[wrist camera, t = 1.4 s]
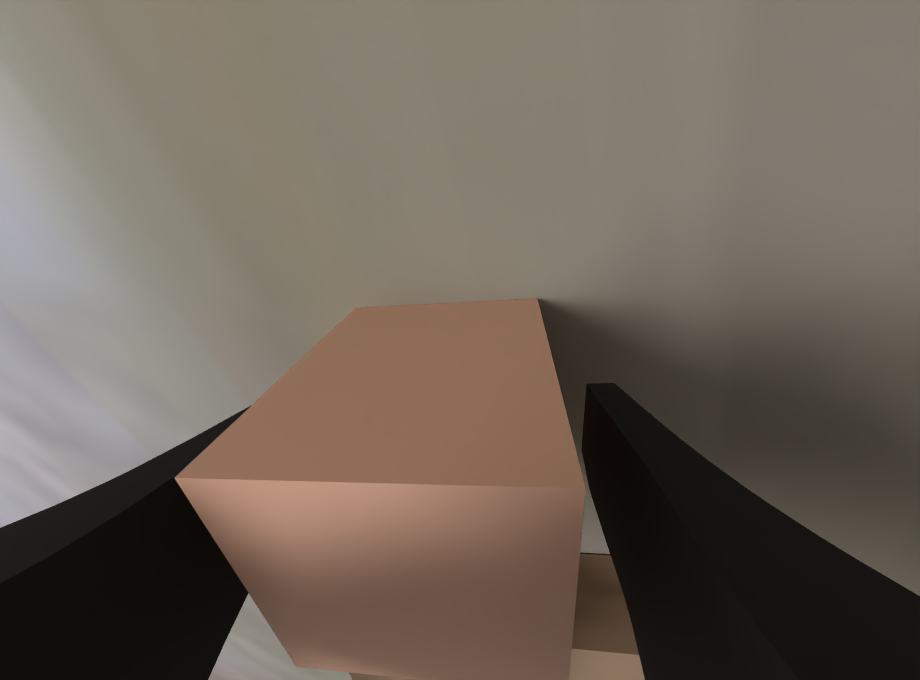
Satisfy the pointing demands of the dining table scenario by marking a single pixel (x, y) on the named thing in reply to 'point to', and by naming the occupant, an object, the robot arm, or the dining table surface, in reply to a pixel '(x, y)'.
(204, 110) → the dining table surface
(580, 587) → the walnut base
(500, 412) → the terracotta block
